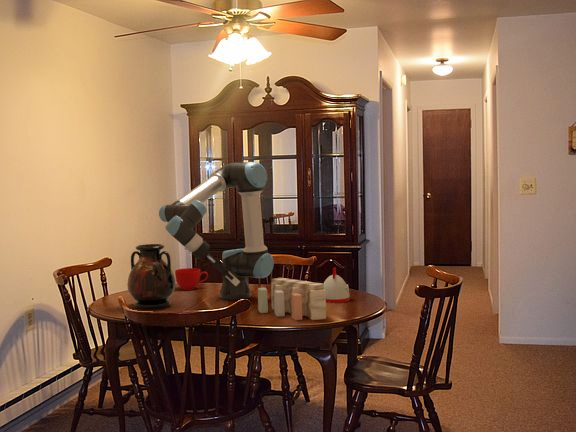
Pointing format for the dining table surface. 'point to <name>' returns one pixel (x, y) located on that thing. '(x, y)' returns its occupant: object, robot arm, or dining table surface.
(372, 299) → the dining table surface
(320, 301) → the cream notched block
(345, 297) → the white and red dome
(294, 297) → the salmon pink upright block
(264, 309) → the sage key
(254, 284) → the dining table surface
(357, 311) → the dining table surface
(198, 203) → the robot arm
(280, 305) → the grey key
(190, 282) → the ceramic cup
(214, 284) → the dining table surface
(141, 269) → the amphora vase
